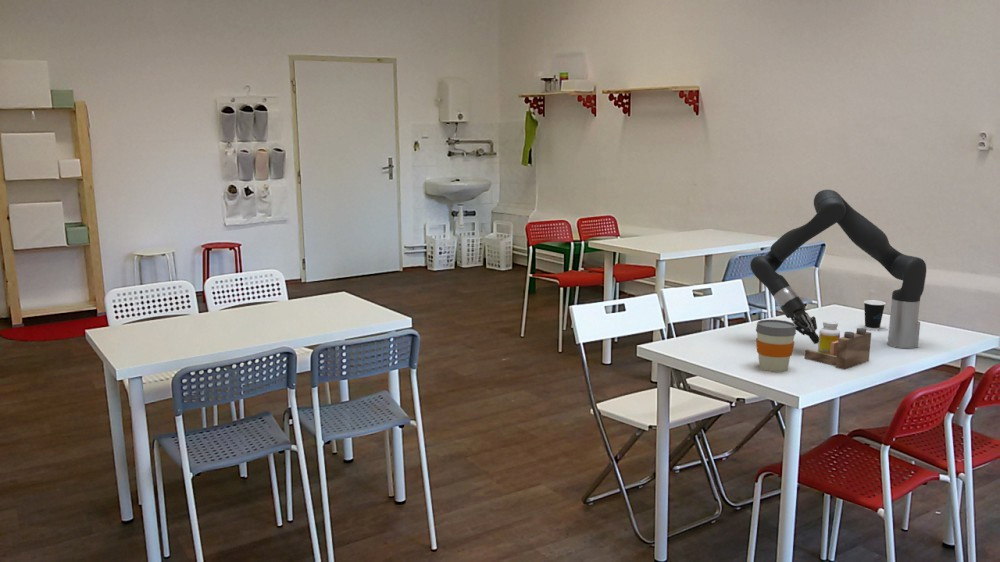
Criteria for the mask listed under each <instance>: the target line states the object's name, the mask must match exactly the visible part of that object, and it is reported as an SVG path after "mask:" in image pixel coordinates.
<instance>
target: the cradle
mask: <svg viewBox="0 0 1000 562" xmlns="http://www.w3.org/2000/svg"><path fill="white" fill-rule="evenodd" d="M843 333H844V334H843V336H842V337H841V336H840V338H838V350H837V356H834V355H830V354H825V353H821V352H818V350H817V351H815V350H813V349H812V350H811V349H808V348H807V349H805V350H804V359H805V360H809V361H814V362H818V363H821V362H822V364H827V365H831V366H834V367H835V368H837V369H841V370H848V369H850V368H853V367H856V366H858V365H861V364H864V363H867V362H869V361H870V354H871V353H870V350H871V341H872V332H871V331H870V332H869V331H867V329H866V328H864V327H863V328H862V327H856V332H854V331H844V332H843Z"/></svg>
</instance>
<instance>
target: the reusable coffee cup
mask: <svg viewBox="0 0 1000 562" xmlns="http://www.w3.org/2000/svg"><path fill="white" fill-rule="evenodd" d="M755 332H756V338H755V342H756V343H755V344H756V352H757V354H758V367H759V368H760V369H761V368H762V369H761V370H764V369H765V370H764V371H769V372H776V371H780V372H785V370H786V371H787V370H788V368H789V363H790V359H791V356H792V355H793V350H794V345H795V341H794V339H795V335H796V334H797V333H796V332H797V330H796V326H795V324H794V323H793V322H791V321H787V320H780V319H761V320H758V321H757V322H756V328H755Z"/></svg>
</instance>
